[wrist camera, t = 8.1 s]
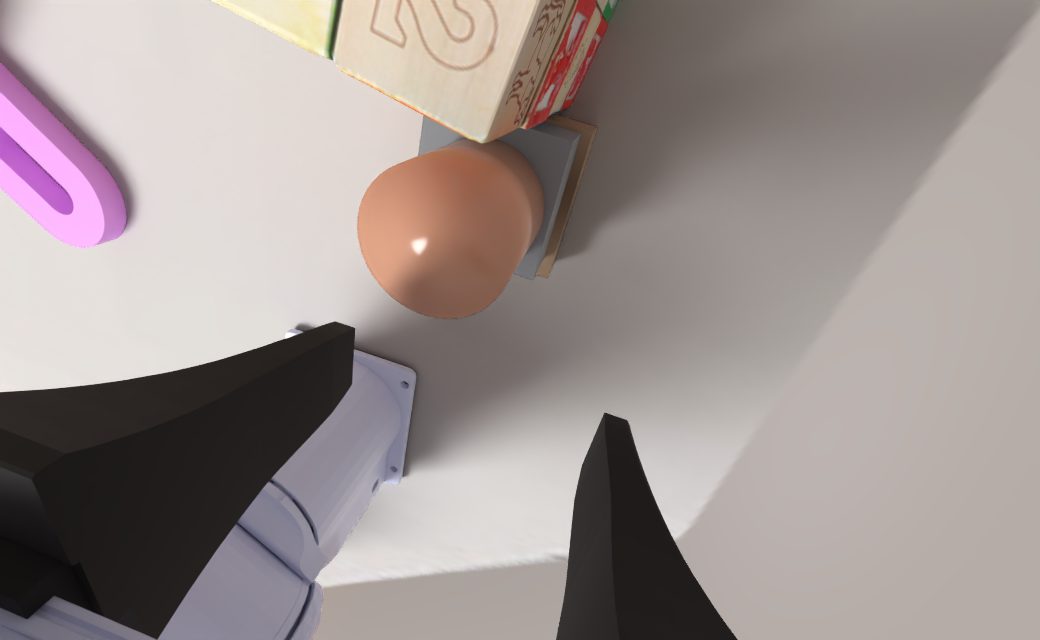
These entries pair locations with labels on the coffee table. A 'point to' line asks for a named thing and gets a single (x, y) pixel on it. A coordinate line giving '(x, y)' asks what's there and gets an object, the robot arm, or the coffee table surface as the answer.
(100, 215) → the bracket
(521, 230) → the terracotta cylinder
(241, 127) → the coffee table surface
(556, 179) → the tower top
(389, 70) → the stack of blocks
